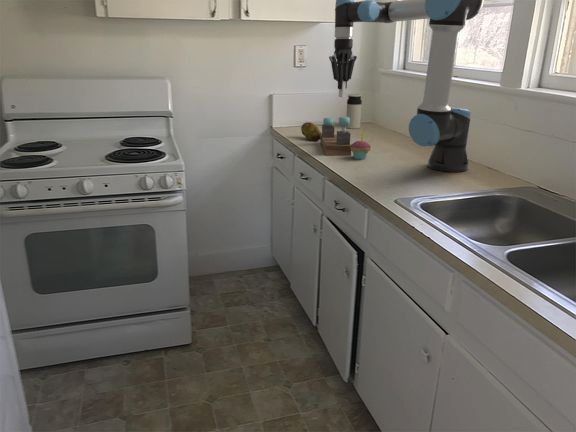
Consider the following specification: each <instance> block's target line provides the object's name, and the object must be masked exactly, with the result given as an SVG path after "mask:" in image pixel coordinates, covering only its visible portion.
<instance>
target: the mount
mask: <svg viewBox="0 0 576 432" xmlns="http://www.w3.org/2000/svg"><path fill="white" fill-rule="evenodd" d="M321 133H322V134H320V140H319V143H320V146H321V147H322V150H323V152H324V155H325V156H352V151H351V149H350V147H351V144H352V143H351V132H350V131H349V130H346V133H342V130H337V131H336V133H335V125H334V124H333V126H324V125H323V124H321Z"/></svg>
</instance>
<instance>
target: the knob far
mask: <svg viewBox="0 0 576 432" xmlns="http://www.w3.org/2000/svg"><path fill="white" fill-rule="evenodd" d="M322 122H323V123H322V125H324V126H333V125H334V118H331V117H324V118H323V121H322Z"/></svg>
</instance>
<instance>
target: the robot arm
mask: <svg viewBox="0 0 576 432" xmlns="http://www.w3.org/2000/svg"><path fill="white" fill-rule="evenodd" d="M484 1H485V0H396V1H395V0H394V1H388V2H382V1H381V2H378V1H376V0H362V1H355V0H335V4H334V5H335V6H334V7H335V8H334V11H335V12H334V13H335V14H334V38H335V39H334V43H333V44H334V45H333V46H334V51H333V55H331V56H328V59H329V61H330V65H331V71H332V77H333V80H335V81H337V90H338V97H339V98H345V97H346V89H347V88H348V82H349V80H352V76H353V70H354V66H355V62H356V61H357V55H354V54H353V50H352V49H353V45H354V43H353V42H354V39H352V38H354V23H381V24H382V23H383V24H392V23H395V22H405V21H417V20H428V19H429V23H428V26H429V27H430V29H431V31H432V34H431V40H430V46H429V47H430V48H429V53H428V63H427V70H426V77H425V83H424V84H425V85H424V89H423V90H424V91H423V97H422V98H423V99H422V102H421V103H420V104H418V106H417V109H416V114H415V115H414V116H413V117H412V118H411V119H410V120H409V122H408V133H409V136H410V138H411V139H412V141H413V142H414V143H415V144H416V145H419V146H421V147H433V146H434V147H433V148H432V151H431V153H430V155H429V158H428V159H427V167H429V168H430V169H433V170H436V171H441V172H450V173H451V172H453V173H454V172H455V173H459V172H465V171H467V170H469V158H468V154H467V144H468V136H469V131H470V130H469V129H470V122H471V111H470V110H469V109H467V108H461V107H453V106H452V107H451V106H450V105H449V96H450V92H451V84H452V78H453V73H454V66H455V61H456V54H457V47H458V42H459V36H460V32H461V31H462V30H463V29H464V28H465V27H466V22H467V21H469V20H471V19H473V18H475V17H477V15H478V14H479V13H480V11H481V10H482V8H483V5H484Z"/></svg>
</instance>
